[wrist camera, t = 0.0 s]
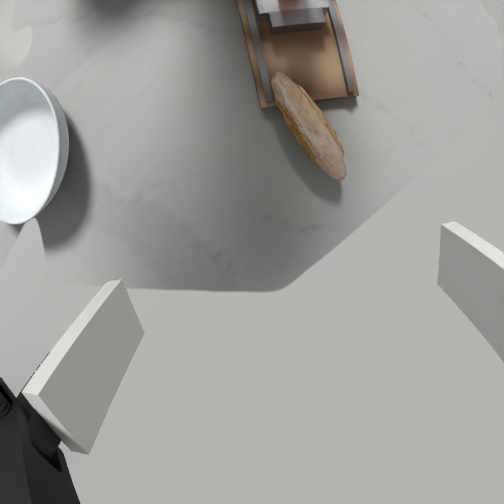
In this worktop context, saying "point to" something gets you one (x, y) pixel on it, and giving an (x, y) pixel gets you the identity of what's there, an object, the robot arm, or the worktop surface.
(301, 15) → the copper peg on base
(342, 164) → the tan elongated oval piece
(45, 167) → the serving bowl
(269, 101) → the railed wooden base plate
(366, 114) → the worktop surface
